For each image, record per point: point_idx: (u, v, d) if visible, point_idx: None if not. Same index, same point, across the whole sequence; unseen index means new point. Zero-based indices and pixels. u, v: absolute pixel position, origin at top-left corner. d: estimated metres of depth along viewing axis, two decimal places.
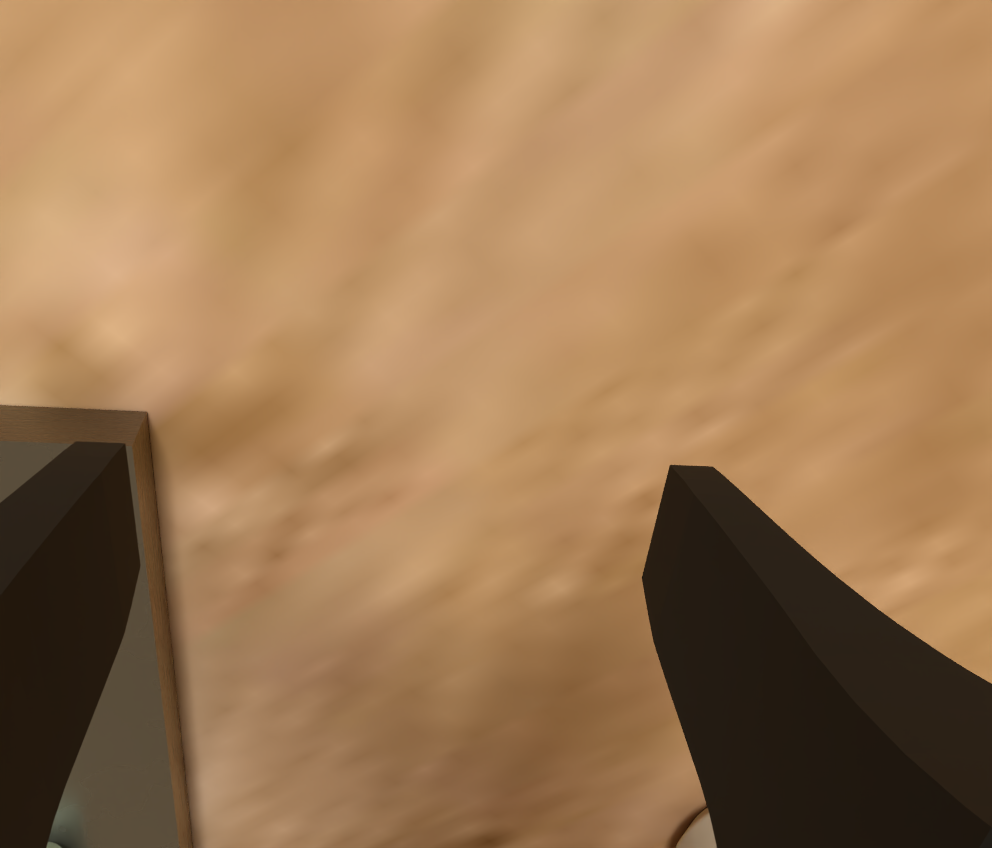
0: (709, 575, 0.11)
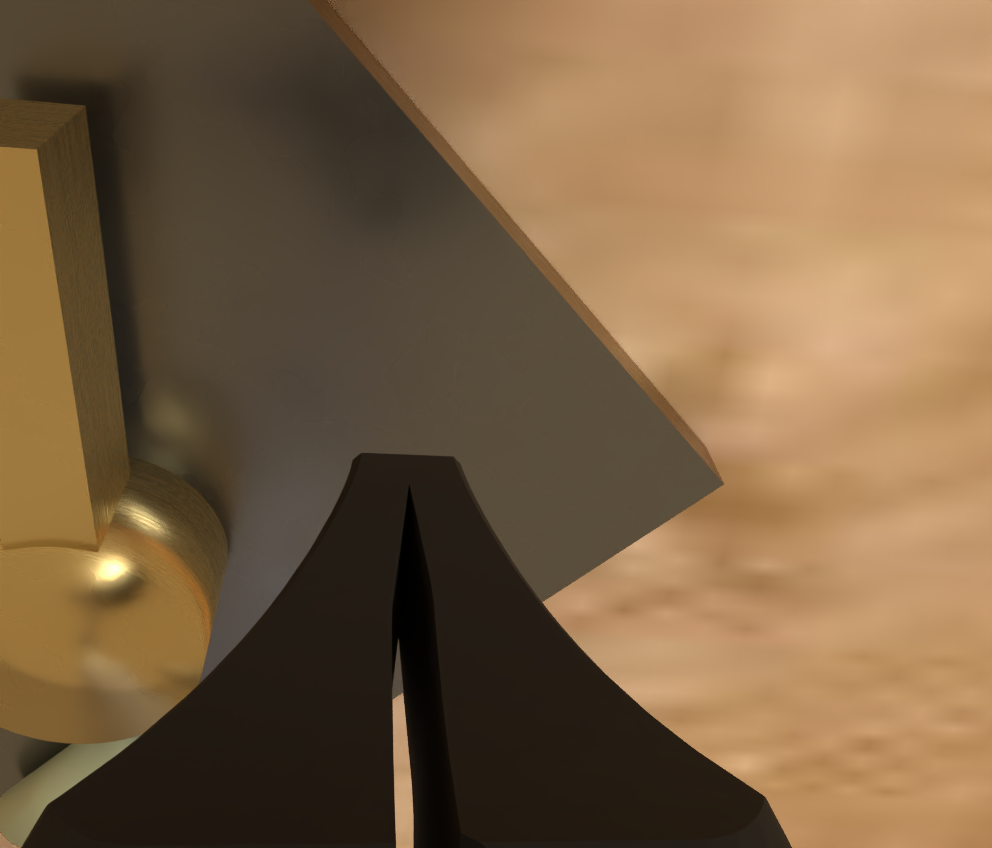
0: (414, 568, 0.11)
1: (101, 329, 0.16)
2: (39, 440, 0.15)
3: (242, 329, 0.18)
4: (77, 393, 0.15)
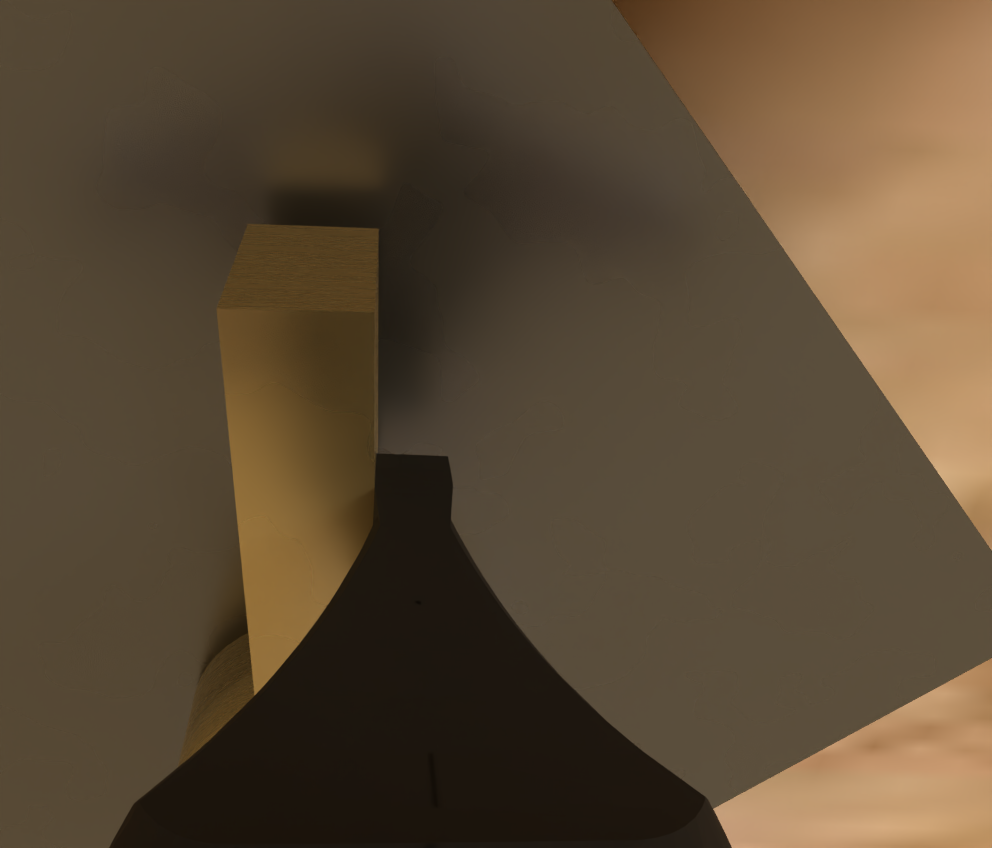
0: None
1: None
2: None
3: (526, 475, 0.15)
4: None
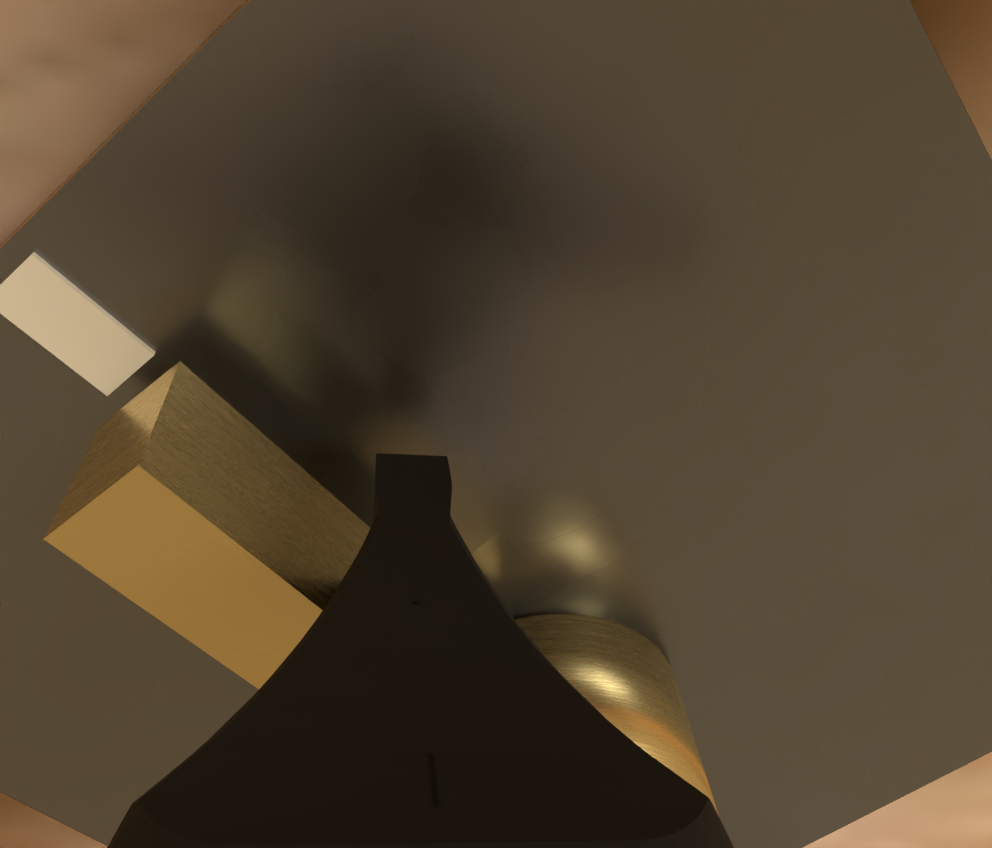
0: None
1: None
2: None
3: (764, 480, 0.16)
4: None
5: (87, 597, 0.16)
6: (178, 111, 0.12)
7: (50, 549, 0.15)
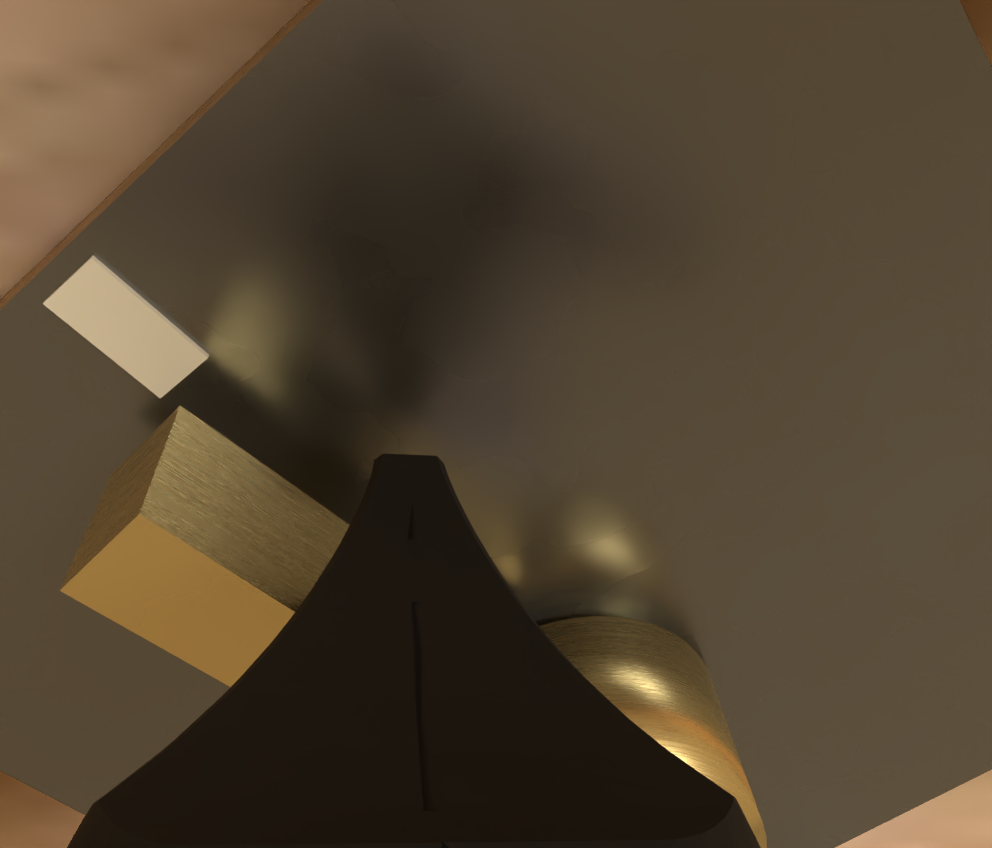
0: None
1: None
2: None
3: (805, 484, 0.16)
4: None
5: None
6: (240, 117, 0.12)
7: None
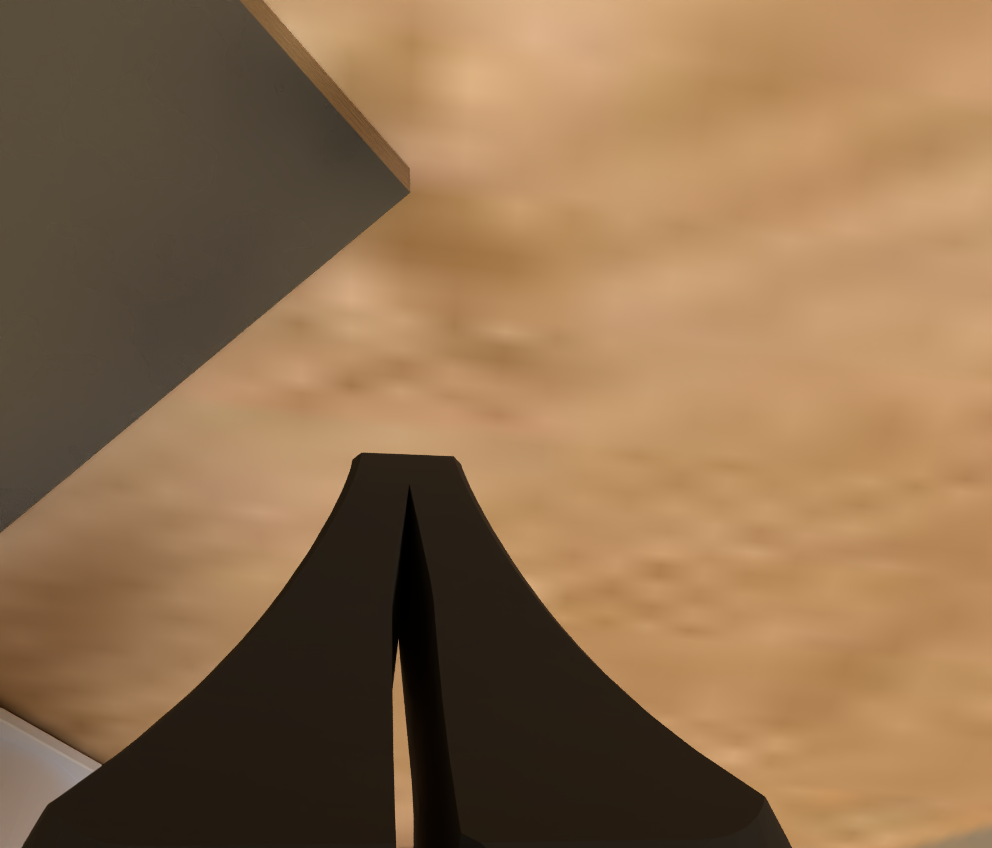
0: (413, 567, 0.11)
1: None
2: None
3: None
4: None
5: None
6: None
7: None
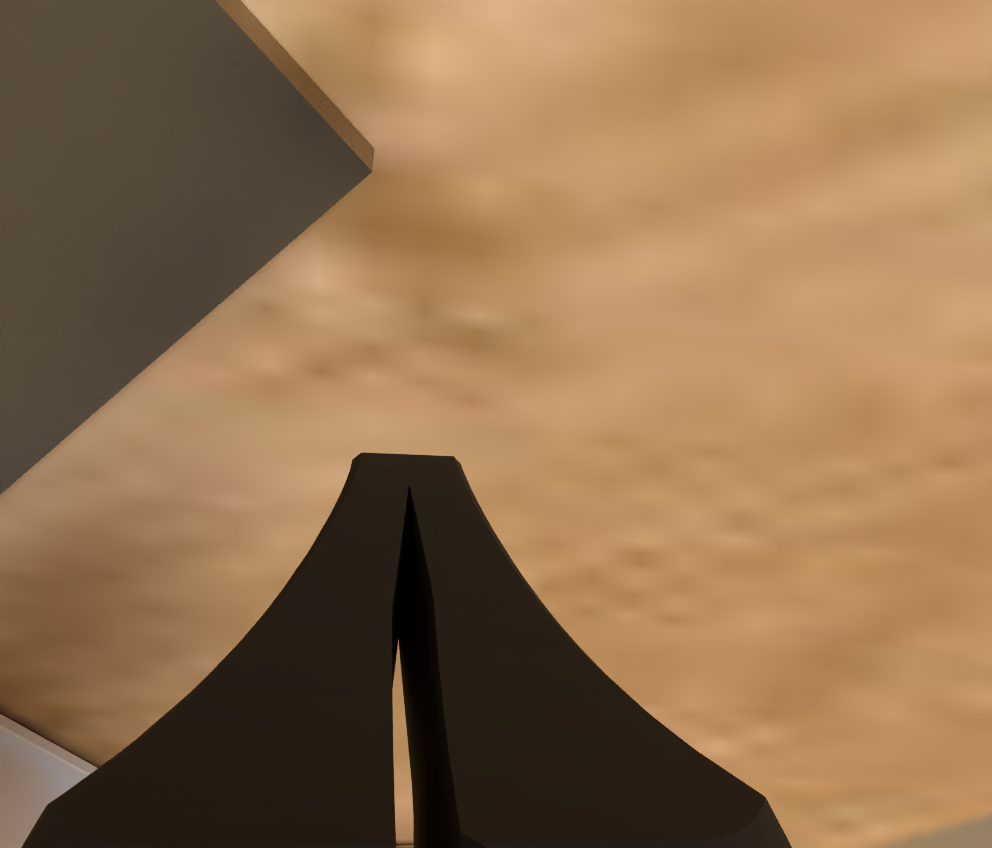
0: (413, 567, 0.11)
1: None
2: None
3: None
4: None
5: None
6: None
7: None
